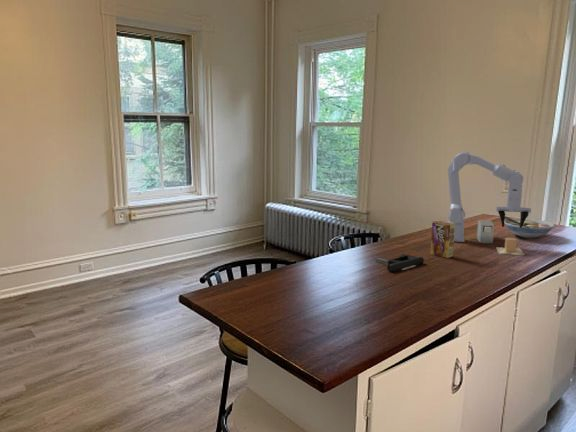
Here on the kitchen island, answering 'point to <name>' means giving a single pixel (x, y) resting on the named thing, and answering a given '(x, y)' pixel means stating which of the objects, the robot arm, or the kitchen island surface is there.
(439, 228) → the candy box
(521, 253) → the pad
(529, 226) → the ramen bowl
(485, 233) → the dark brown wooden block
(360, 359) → the kitchen island surface
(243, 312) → the kitchen island surface
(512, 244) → the tan rectangular block
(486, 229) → the white long bar
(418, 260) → the door handle
